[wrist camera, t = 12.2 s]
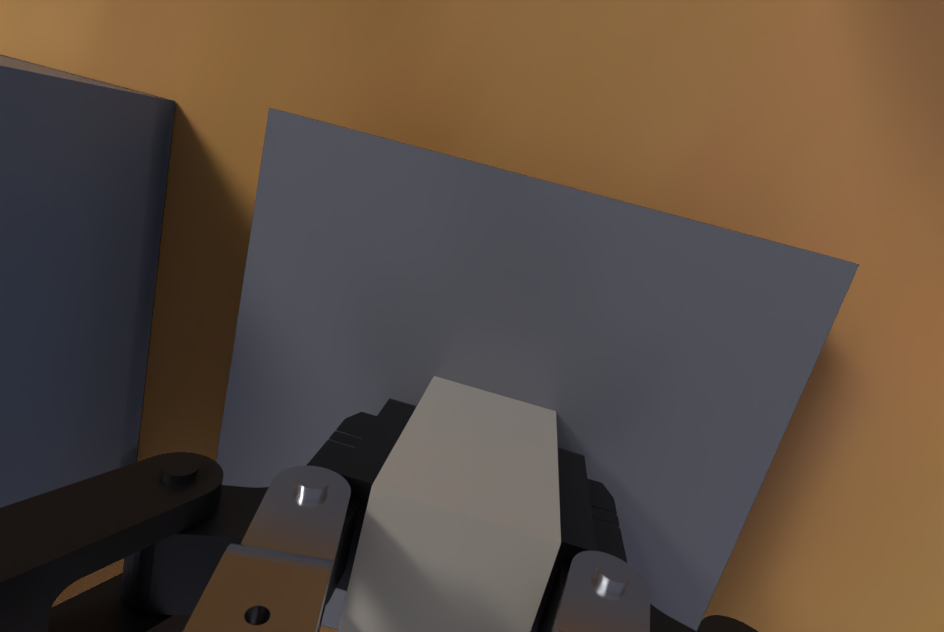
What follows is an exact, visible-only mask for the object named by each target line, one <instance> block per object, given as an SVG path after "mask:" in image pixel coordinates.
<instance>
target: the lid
mask: <svg viewBox="0 0 944 632" xmlns="http://www.w3.org/2000/svg"><path fill="white" fill-rule="evenodd" d="M858 266H859V264H856V263H852V262H849V261H845V260H842V259H838V258H834V257H831V256H827V255H823V254H819V253H816V252H812V251H808V250H804V249H801V248H797V247H793V246H789V245H786V244H782V243H778V242H774V241H770V240H767V239H763V238H759V237H755V236H752V235H748V234H744V233H740V232H737V231H733V230H729V229H725V228H721V227H718V226H714V225H710V224H706V223H703V222H699V221H695V220H691V219H688V218H684V217H680V216H676V215H673V214H669V213H665V212H661V211H657V210H654V209H650V208H646V207H642V206H639V205H635V204H631V203H627V202H624V201H620V200H616V199H612V198H609V197H605V196H601V195H597V194H593V193H590V192H586V191H582V190H578V189H575V188H571V187H567V186H563V185H560V184H556V183H552V182H548V181H545V180H541V179H537V178H533V177H529V176H526V175H522V174H518V173H514V172H511V171H507V170H503V169H499V168H496V167H492V166H488V165H484V164H480V163H477V162H473V161H469V160H465V159H462V158H458V157H454V156H450V155H447V154H443V153H439V152H435V151H432V150H428V149H424V148H420V147H416V146H413V145H409V144H405V143H401V142H398V141H394V140H390V139H386V138H383V137H379V136H375V135H371V134H368V133H364V132H360V131H356V130H352V129H349V128H345V127H341V126H337V125H334V124H330V123H326V122H322V121H319V120H315V119H311V118H307V117H304V116H300V115H296V114H292V113H288V112H284V111H280V110H276V109H272V108H269V114H268V120H267V127H266V134H265V140H264V147H263V154H262V160H261V167H260V174H259V180H258V187H257V193H256V200H255V207H254V213H253V220H252V227H251V233H250V240H249V247H248V253H247V260H246V267H245V273H244V280H243V286H242V293H241V300H240V306H239V313H238V320H237V326H236V333H235V340H234V346H233V353H232V360H231V366H230V373H229V379H228V386H227V393H226V399H225V406H224V413H223V419H222V426H221V433H220V439H219V446H218V452H217V459H216V462H217V463H218V464H219V465H220V466H221V468H222V470H223V475H224V476H223V483H222V485H229V486H240V487H254V488H261V487H269V486H270V484H271V482H272V480H273V478H274V477H275V476H276V475H277V474H278V473H280V472H281V471H283V470H285V469H288V468H291V467H296V466H306V465H307V464H308V463H309V462H310V460H311V459H312V458H313V457H314V456H315V454H316V453H317V452H318V451H319V450H320V448H321V447H322V446H323V445H324V443H325V442H326V441H327V440H329V437H330V436H331V435H332V434H333V433H334V431H336V429H337V428H338V427H339V425H340V424H341V423H342V422H343V421H344V419H345V418H347V417H350V416H352V415H355V414H357V413H360V412H365V413H368V414H371V415H375V416H377V415H378V414H379V412H380V411H381V410H382V408H383V407H384V405H385V404H386V402H387V401H388V400H389V399H390V398H391V399H394V400H398V401H401V402H404V403H408V404H411V405H415V406H417V407H416V409H415V410H414V412H413V414H412V416H411V417H410V419H409V421H408V423H407V424H406V426H405V428H404V430H403V432H402V433H401V435H400V437H399V439H398V440H397V442H396V444H395V446H394V447H393V449H392V451H391V453H390V454H389V456H388V458H387V460H386V461H385V463H384V465H383V467H382V469H381V470H380V472H379V474H378V476H377V477H376V479H375V481H374V483H373V484H372V487H371V492H370V496H369V500H368V504H367V509H366V513H365V517H364V521H363V526H362V530H361V534H360V538H359V543H358V547H357V551H356V555H355V560H354V564H353V568H352V572H351V577H350V581H349V585H348V589H347V591H344V590H341V589H338V588H336V589H335V591H334V593H333V595H332V597H331V599H330V600H329V602H328V604H327V605H326V606H325V611H324V615H323V620H322V624H321V625H323V626H326V627H329V628H332V629H336V630H338V632H530V631H531V628H532V625H533V622H534V620H535V617H536V614H537V611H538V608H539V605H540V602H541V599H542V597H543V594H544V591H545V588H546V585H547V582H548V579H549V576H550V573H551V571H552V568H553V565H554V562H555V559H556V556H557V553H558V550H559V548H560V545H561V527H560V501H559V475H558V449H557V448H561V449H564V450H568V451H571V452H575V453H578V454H581V455H584V457H585V463H586V471H587V478H588V479H591V480H594V481H598V482H601V483H603V485H604V486H605V487H606V489H607V490H608V491H609V492H610V494H611V495H612V496H613V498H614V501H615V506H616V511H617V516H618V520H619V528H620V530H621V535H622V539H623V544H624V549H625V554H626V558H627V563H628V564H629V565H630V566H632V567H633V568H634V569H635V570H636V571H637V572H638V573H639V574H640V575H641V576H642V577H643V578H644V580H645V581H646V583H647V585H648V587H649V590H650V603H651V604H652V605H653V606H654V607H656V608H657V609H658V610H660V611H661V612H663V613H664V614H666V615H668V616H669V617H671V618H673V619H675V620H677V621H679V622H680V623H682V624H684V625H686V626H688V627H690V628H692V629H693V630H695V631H697V629H698V627H699V625H700V622H701V620H702V618H703V616H704V613H705V611H706V609H707V607H708V604H709V602H710V600H711V598H712V595H713V593H714V591H715V589H716V586H717V584H718V582H719V580H720V577H721V575H722V573H723V570H724V568H725V566H726V564H727V561H728V559H729V557H730V555H731V552H732V550H733V548H734V546H735V543H736V541H737V539H738V537H739V534H740V532H741V530H742V528H743V525H744V523H745V521H746V519H747V516H748V514H749V512H750V510H751V507H752V505H753V503H754V501H755V498H756V496H757V494H758V492H759V489H760V487H761V485H762V483H763V480H764V478H765V476H766V473H767V471H768V469H769V467H770V464H771V462H772V460H773V458H774V455H775V453H776V451H777V449H778V446H779V444H780V442H781V440H782V437H783V435H784V433H785V431H786V428H787V426H788V424H789V422H790V419H791V417H792V415H793V413H794V410H795V408H796V406H797V404H798V401H799V399H800V397H801V395H802V392H803V390H804V388H805V386H806V383H807V381H808V379H809V376H810V374H811V372H812V370H813V367H814V365H815V363H816V361H817V358H818V356H819V354H820V352H821V349H822V347H823V345H824V343H825V340H826V338H827V336H828V334H829V331H830V329H831V327H832V325H833V322H834V320H835V318H836V316H837V313H838V311H839V309H840V307H841V304H842V302H843V300H844V298H845V295H846V293H847V291H848V289H849V286H850V284H851V282H852V280H853V277H854V275H855V273H856V270H857V268H858Z"/></svg>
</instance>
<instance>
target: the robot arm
mask: <svg viewBox="0 0 944 632" xmlns="http://www.w3.org/2000/svg"><path fill="white" fill-rule="evenodd" d="M416 407H417V406H415V405H411V404H408V403H404V402H401V401H398V400H394V399H391V398H390V399H389V400H388V401H387V402H386V404H385V405H384V407H383V408H382V410H381V411H380V412H379V414H378V415H377V416H375V415H371V414H368V413H365V412H360V413H357V414H355V415H352V416H350V417H347V418H345V419H344V421H343V422H342V423H341V424H340V425H339V427H338V428H337V429H336V431H334V433H333V434H332V435H331V436H330V437H329V440H327V441H326V442H325V443H324V445H323V446H322V447H321V448H320V450H319V451H318V452H317V453H316V454H315V456H314V457H313V458H312V459H311V460H310V462H309V463H308V464H307V465H306V466H296V467H291V468H288V469H285V470H283V471H281V472H280V473H278V474H277V475H276V476H275V477H274V478H273V480H272V482H271V484H270V486H269V487H261V488H254V487H240V486H229V485H222V483H223V476H224V475H223V470H222V468H221V466H220V465H219V464H218V463H217V462H216V461H214V460H212V459H211V458H208V457H206V456H203V455H199V454H194V453H186V452H175V453H166V454H161V455H157V456H154V457H151V458H148V459H145V460H142V461H139V462H136V463H133V464H130V465H127V466H124V467H121V468H118V469H115V470H112V471H109V472H106V473H103V474H100V475H97V476H94V477H91V478H88V479H85V480H82V481H79V482H76V483H73V484H70V485H67V486H64V487H61V488H58V489H55V490H52V491H49V492H46V493H43V494H40V495H37V496H34V497H31V498H28V499H25V500H22V501H19V502H16V503H13V504H10V505H7V506H5V507H2V508H0V632H320V628H321V624H322V620H323V615H324V611H325V606H326V605H327V604H328V602H329V600H330V599H331V597H332V595H333V593H334V591H335V589H336V588H338V589H341V590H344V591H347V589H348V585H349V581H350V577H351V572H352V568H353V564H354V560H355V555H356V551H357V547H358V543H359V538H360V534H361V530H362V526H363V521H364V517H365V513H366V509H367V504H368V500H369V496H370V492H371V487H372V484H373V483H374V481H375V479H376V477H377V476H378V474H379V472H380V470H381V469H382V467H383V465H384V463H385V461H386V460H387V458H388V456H389V454H390V453H391V451H392V449H393V447H394V446H395V444H396V442H397V440H398V439H399V437H400V435H401V433H402V432H403V430H404V428H405V426H406V424H407V423H408V421H409V419H410V417H411V416H412V414H413V412H414V410H415V409H416ZM557 449H558V475H559V501H560V527H561V545H560V548H559V550H558V553H557V556H556V559H555V562H554V565H553V568H552V571H551V573H550V576H549V579H548V582H547V585H546V588H545V591H544V594H543V597H542V599H541V602H540V605H539V608H538V611H537V614H536V617H535V620H534V622H533V625H532V628H531V631H530V632H758V631H756V630H755V629H753V628H752V627H750V626H748V625H746V624H744V623H743V622H740V621H738V620H736V619H733V618H730V617H726V616H719V615H713V616H708V617H706V618H704V619H703V620H702V621H701V623H700V625H699V627H698V629H697V631H695V630H693V629H692V628H690V627H688V626H686V625H684V624H682V623H680V622H679V621H677V620H675V619H673V618H671V617H669V616H668V615H666V614H664V613H663V612H661V611H660V610H658V609H657V608H656V607H654V606H653V605H652V604H651V603H650V590H649V587H648V585H647V583H646V581H645V580H644V578H643V577H642V576H641V575H640V574H639V573H638V572H637V571H636V570H635V569H634V568H633V567H632V566H630V565H629V564H628V563H627V558H626V554H625V549H624V544H623V539H622V535H621V530H620V528H619V520H618V516H617V511H616V506H615V501H614V498H613V496H612V495H611V494H610V492H609V491H608V490H607V489H606V487H605V486H604V485H603V483H601V482H598V481H594V480H591V479H588V478H587V471H586V463H585V457H584V455H581V454H578V453H575V452H571V451H568V450H564V449H561V448H557ZM123 558H124V566H123V573H121V574H119V575H117V576H115V577H113V578H111V579H109V580H107V581H105V582H103V583H101V584H99V585H97V586H95V587H93V588H91V589H89V590H87V591H85V592H83V593H81V594H79V595H77V596H75V597H73V598H71V599H69V600H67V601H64V602H62V603H60V604H58V605H56V606H54V607H52V608H51V606H52V604H53V603H54V601H55V600H56V598H57V597H58V596H59V595H60V593H61V592H62V591H63V590H64V589H66V588H67V587H68V586H69V585H70V584H72V583H73V582H75V581H77V580H79V579H80V578H82V577H85V576H87V575H89V574H91V573H93V572H95V571H97V570H99V569H102V568H104V567H106V566H108V565H110V564H112V563H114V562H116V561H119V560H121V559H123Z"/></svg>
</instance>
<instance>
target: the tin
mask: <svg viewBox="0 0 944 632" xmlns="http://www.w3.org/2000/svg"><path fill="white" fill-rule="evenodd" d="M174 110H175V101H172V100H169V99H165V98H161V97H157V96H154V95H150V94H146V93H142V92H139V91H135V90H131V89H127V88H124V87H120V86H116V85H112V84H109V83H105V82H101V81H97V80H94V79H90V78H86V77H82V76H79V75H75V74H71V73H67V72H64V71H60V70H56V69H52V68H49V67H45V66H41V65H37V64H34V63H30V62H26V61H22V60H19V59H15V58H11V57H7V56H4V55H0V508H2V507H5V506H7V505H10V504H13V503H16V502H19V501H22V500H25V499H28V498H31V497H34V496H37V495H40V494H43V493H46V492H49V491H52V490H55V489H58V488H61V487H64V486H67V485H70V484H73V483H76V482H79V481H82V480H85V479H88V478H91V477H94V476H97V475H100V474H103V473H106V472H109V471H112V470H115V469H118V468H121V467H124V466H127V465H130V464H133V463H136V460H137V451H138V442H139V433H140V423H141V414H142V405H143V396H144V386H145V377H146V368H147V359H148V350H149V340H150V331H151V322H152V313H153V304H154V294H155V285H156V276H157V267H158V257H159V248H160V239H161V230H162V221H163V211H164V202H165V193H166V184H167V174H168V165H169V156H170V147H171V138H172V128H173V119H174Z"/></svg>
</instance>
